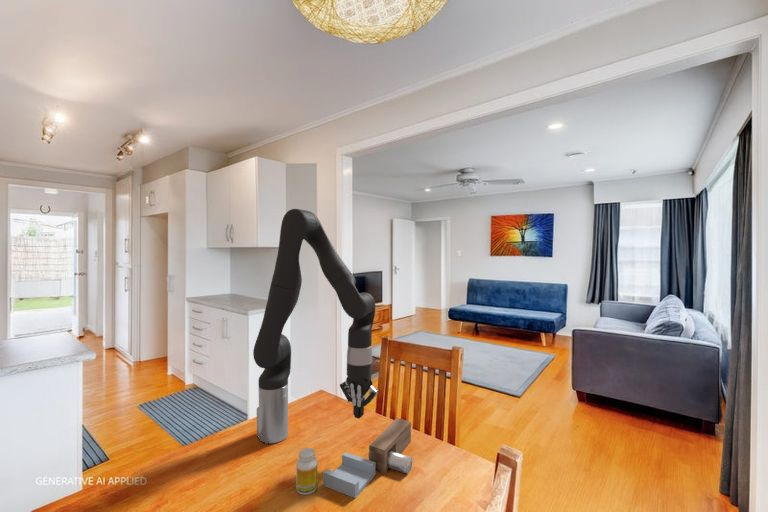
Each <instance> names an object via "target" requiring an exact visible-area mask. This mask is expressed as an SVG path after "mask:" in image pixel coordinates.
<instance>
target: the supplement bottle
mask: <svg viewBox="0 0 768 512" xmlns="http://www.w3.org/2000/svg"><path fill="white" fill-rule="evenodd" d="M295 467H296V468H295V469H296V470H295V472H296V473H295V474H296V475H295V478H296V479H295V481H296V482H295V488H296V492H297V493H299V494H300V495H303V496H308V495H311V494H313V493H314V492H315V491H316V490H317V488H318V459H317V458H316V451H315V449H314V448H312V447H306V448H303V449H301V450H299V452H298V460H297V461H296V465H295Z"/></svg>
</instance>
